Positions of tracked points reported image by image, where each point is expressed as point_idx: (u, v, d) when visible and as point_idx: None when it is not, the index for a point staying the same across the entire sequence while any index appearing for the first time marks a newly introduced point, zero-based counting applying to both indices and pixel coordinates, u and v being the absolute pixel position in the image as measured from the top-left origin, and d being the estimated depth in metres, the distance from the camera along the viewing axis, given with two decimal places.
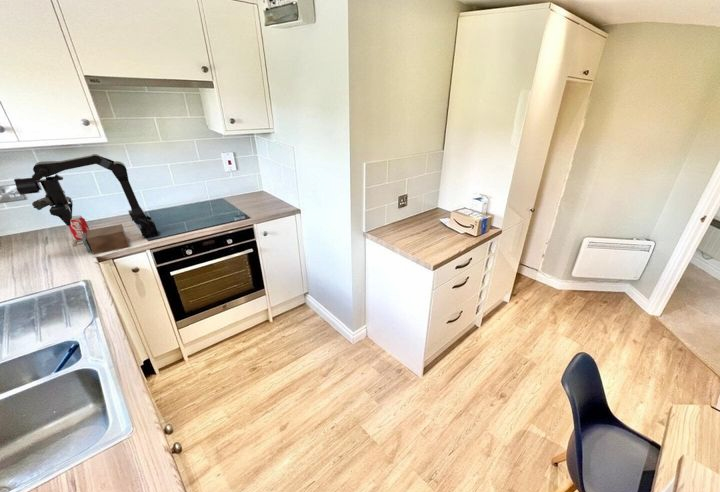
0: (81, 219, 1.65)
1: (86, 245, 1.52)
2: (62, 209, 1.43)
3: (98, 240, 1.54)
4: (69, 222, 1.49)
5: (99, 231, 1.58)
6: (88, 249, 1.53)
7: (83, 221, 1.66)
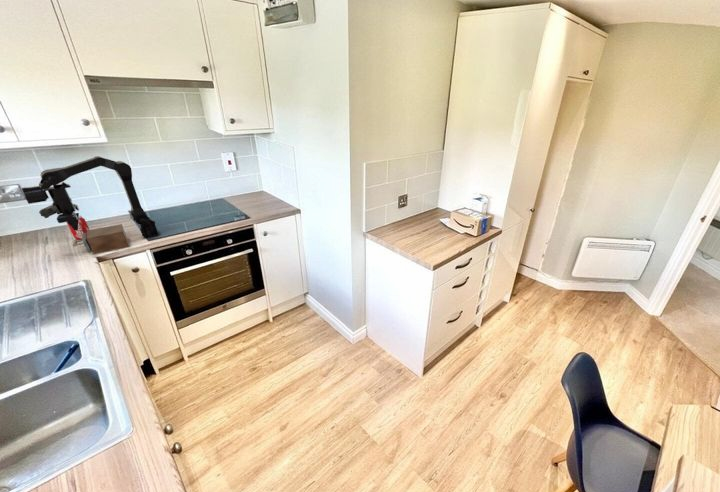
0: (81, 219, 1.65)
1: (86, 245, 1.52)
2: (70, 217, 1.42)
3: (98, 240, 1.54)
4: (76, 227, 1.51)
5: (99, 231, 1.58)
6: (88, 249, 1.53)
7: (83, 221, 1.66)
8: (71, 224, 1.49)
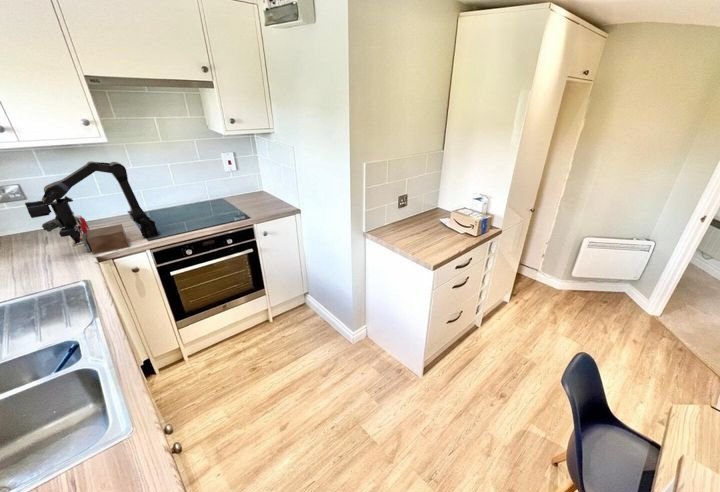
0: (81, 219, 1.65)
1: (86, 245, 1.52)
2: (72, 231, 1.44)
3: (98, 240, 1.54)
4: (78, 240, 1.53)
5: (99, 231, 1.58)
6: (88, 249, 1.53)
7: (83, 221, 1.66)
8: (73, 237, 1.51)
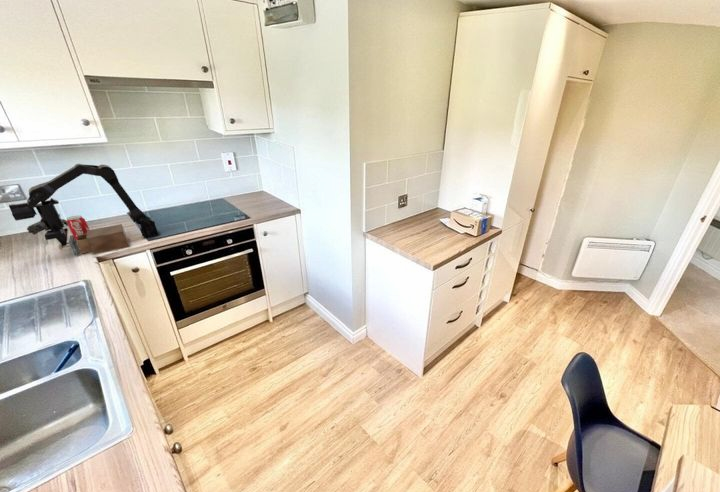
0: (81, 219, 1.65)
1: (72, 248, 1.50)
2: (58, 233, 1.42)
3: (98, 240, 1.54)
4: (65, 242, 1.51)
5: (99, 231, 1.58)
6: (75, 252, 1.51)
7: (83, 221, 1.66)
8: (60, 240, 1.49)
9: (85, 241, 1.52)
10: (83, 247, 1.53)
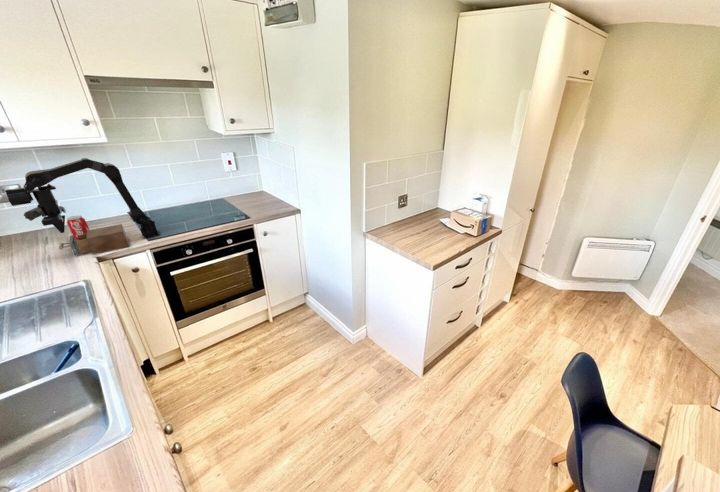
0: (81, 219, 1.65)
1: (72, 248, 1.50)
2: (55, 219, 1.39)
3: (98, 240, 1.54)
4: (63, 229, 1.48)
5: (99, 231, 1.58)
6: (75, 252, 1.51)
7: (83, 221, 1.66)
8: (57, 227, 1.46)
9: (85, 241, 1.52)
10: (83, 247, 1.53)
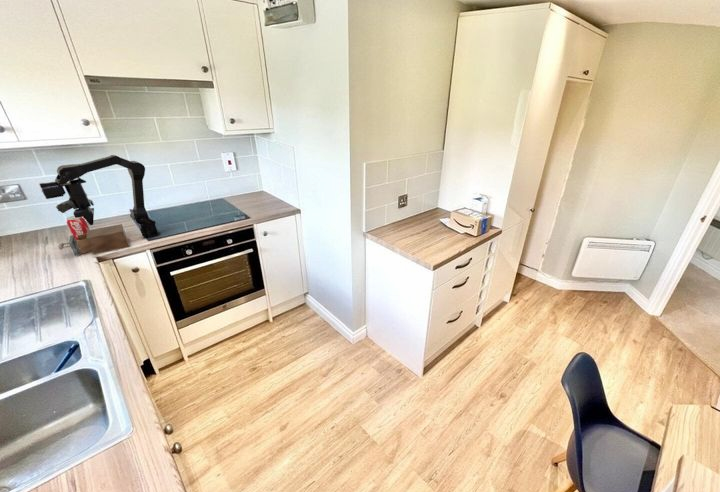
0: (81, 219, 1.65)
1: (72, 248, 1.50)
2: (86, 212, 1.45)
3: (98, 240, 1.54)
4: (92, 222, 1.54)
5: (99, 231, 1.58)
6: (75, 252, 1.51)
7: (83, 221, 1.66)
8: (87, 219, 1.52)
9: (85, 241, 1.52)
10: (83, 247, 1.53)
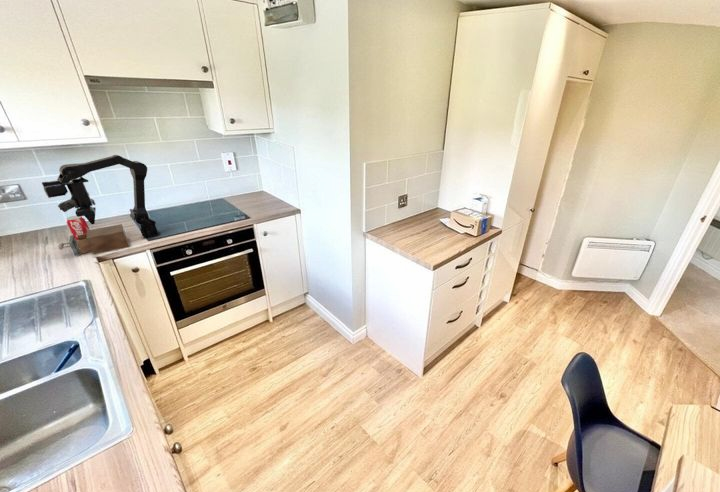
0: (81, 219, 1.65)
1: (72, 248, 1.50)
2: (88, 211, 1.45)
3: (98, 240, 1.54)
4: (93, 221, 1.54)
5: (99, 231, 1.58)
6: (75, 252, 1.51)
7: (83, 221, 1.66)
8: (88, 218, 1.52)
9: (85, 241, 1.52)
10: (83, 247, 1.53)
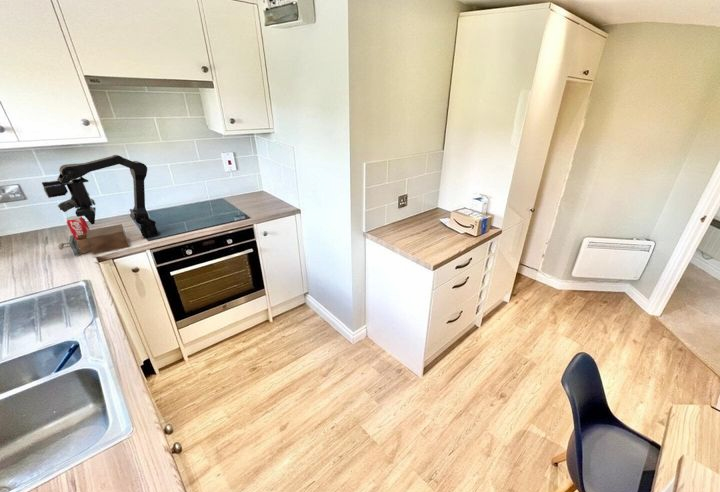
0: (81, 219, 1.65)
1: (72, 248, 1.50)
2: (88, 211, 1.45)
3: (98, 240, 1.54)
4: (93, 221, 1.54)
5: (99, 231, 1.58)
6: (75, 252, 1.51)
7: (83, 221, 1.66)
8: (88, 218, 1.52)
9: (85, 241, 1.52)
10: (83, 247, 1.53)
